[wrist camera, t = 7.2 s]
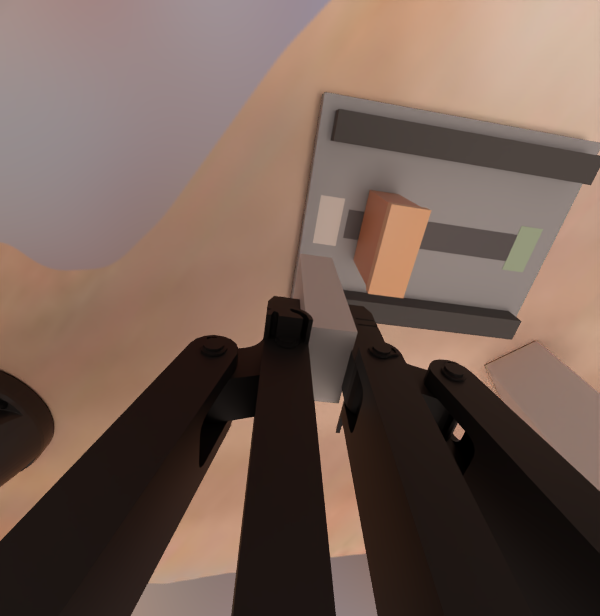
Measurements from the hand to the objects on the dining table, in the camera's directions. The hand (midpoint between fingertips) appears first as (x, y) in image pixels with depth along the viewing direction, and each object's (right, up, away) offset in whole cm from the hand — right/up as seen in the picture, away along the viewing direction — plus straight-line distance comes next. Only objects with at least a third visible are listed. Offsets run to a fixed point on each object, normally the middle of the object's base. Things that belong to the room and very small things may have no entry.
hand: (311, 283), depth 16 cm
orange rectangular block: (+6, +6, +13) cm, 15 cm away
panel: (+11, +6, +15) cm, 20 cm away
